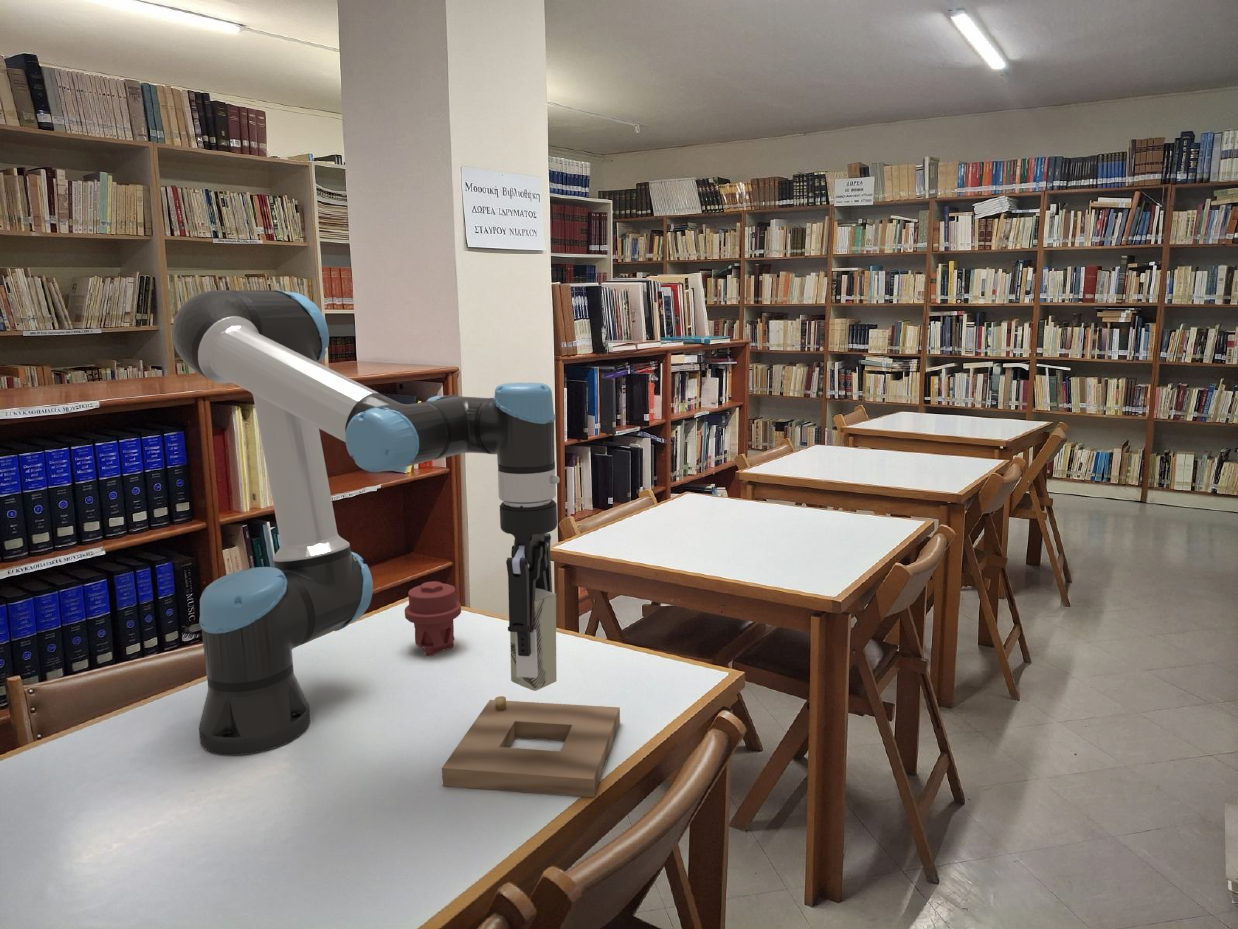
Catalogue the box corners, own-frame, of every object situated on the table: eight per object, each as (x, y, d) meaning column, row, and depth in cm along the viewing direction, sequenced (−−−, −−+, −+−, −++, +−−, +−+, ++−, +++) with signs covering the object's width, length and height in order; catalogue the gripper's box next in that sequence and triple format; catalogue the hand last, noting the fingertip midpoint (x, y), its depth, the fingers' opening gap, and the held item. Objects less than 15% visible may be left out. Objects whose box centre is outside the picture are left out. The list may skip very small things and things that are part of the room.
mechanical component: (471, 640, 161) (450, 661, 151) (421, 637, 163) (397, 658, 153) (467, 577, 159) (446, 594, 149) (417, 575, 161) (393, 592, 151)
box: (509, 682, 117) (506, 592, 115) (533, 672, 121) (529, 584, 119) (536, 693, 114) (533, 600, 112) (560, 682, 117) (557, 592, 115)
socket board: (593, 797, 108) (593, 768, 107) (442, 785, 111) (441, 757, 111) (620, 723, 127) (619, 698, 127) (490, 715, 131) (489, 690, 130)
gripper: (537, 518, 103) (543, 698, 107) (571, 486, 122) (575, 641, 126) (477, 516, 104) (485, 694, 108) (520, 485, 123) (526, 638, 127)
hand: (533, 665), depth 117 cm, fingers closed on box, 6 cm apart
